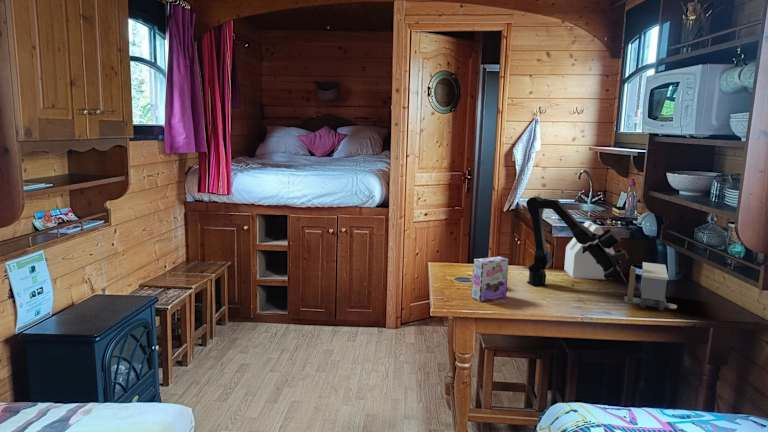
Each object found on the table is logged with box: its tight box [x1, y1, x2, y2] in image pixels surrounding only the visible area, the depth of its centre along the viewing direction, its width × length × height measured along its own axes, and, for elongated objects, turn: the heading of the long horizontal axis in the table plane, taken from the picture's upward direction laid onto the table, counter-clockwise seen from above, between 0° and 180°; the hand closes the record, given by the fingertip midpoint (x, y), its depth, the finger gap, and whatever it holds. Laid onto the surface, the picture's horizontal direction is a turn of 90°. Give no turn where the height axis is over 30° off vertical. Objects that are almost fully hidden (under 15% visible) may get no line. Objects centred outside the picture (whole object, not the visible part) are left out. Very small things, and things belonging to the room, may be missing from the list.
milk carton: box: [563, 220, 616, 280], centre depth 251 cm, size 19×15×25 cm
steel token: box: [666, 302, 678, 310], centre depth 208 cm, size 4×4×1 cm
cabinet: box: [639, 261, 669, 312], centre depth 213 cm, size 9×23×14 cm, turn 154°
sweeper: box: [623, 266, 667, 309], centre depth 211 cm, size 15×6×14 cm, turn 65°
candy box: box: [470, 256, 510, 302], centre depth 212 cm, size 14×6×16 cm, turn 117°
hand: (626, 284), depth 214 cm, fingers closed
